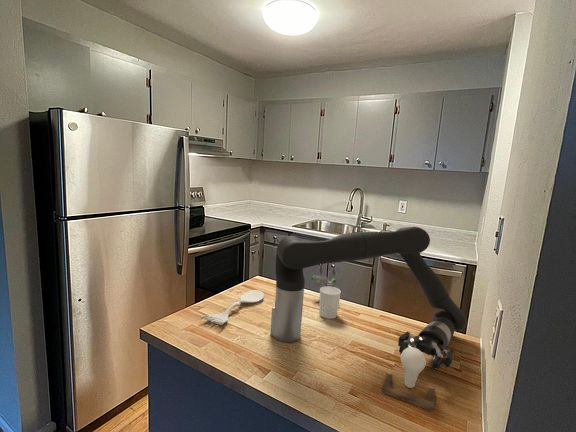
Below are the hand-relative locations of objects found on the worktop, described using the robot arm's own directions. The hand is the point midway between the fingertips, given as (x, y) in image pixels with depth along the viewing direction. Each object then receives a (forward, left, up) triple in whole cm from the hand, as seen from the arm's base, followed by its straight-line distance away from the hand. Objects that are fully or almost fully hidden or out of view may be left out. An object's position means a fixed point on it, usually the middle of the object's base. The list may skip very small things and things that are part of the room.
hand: (417, 358), depth 84 cm
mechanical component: (-40, +35, -7) cm, 54 cm away
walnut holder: (-1, -6, -6) cm, 9 cm away
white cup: (-33, +23, -7) cm, 41 cm away
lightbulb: (-1, -4, -7) cm, 8 cm away
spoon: (-64, +7, -7) cm, 65 cm away
